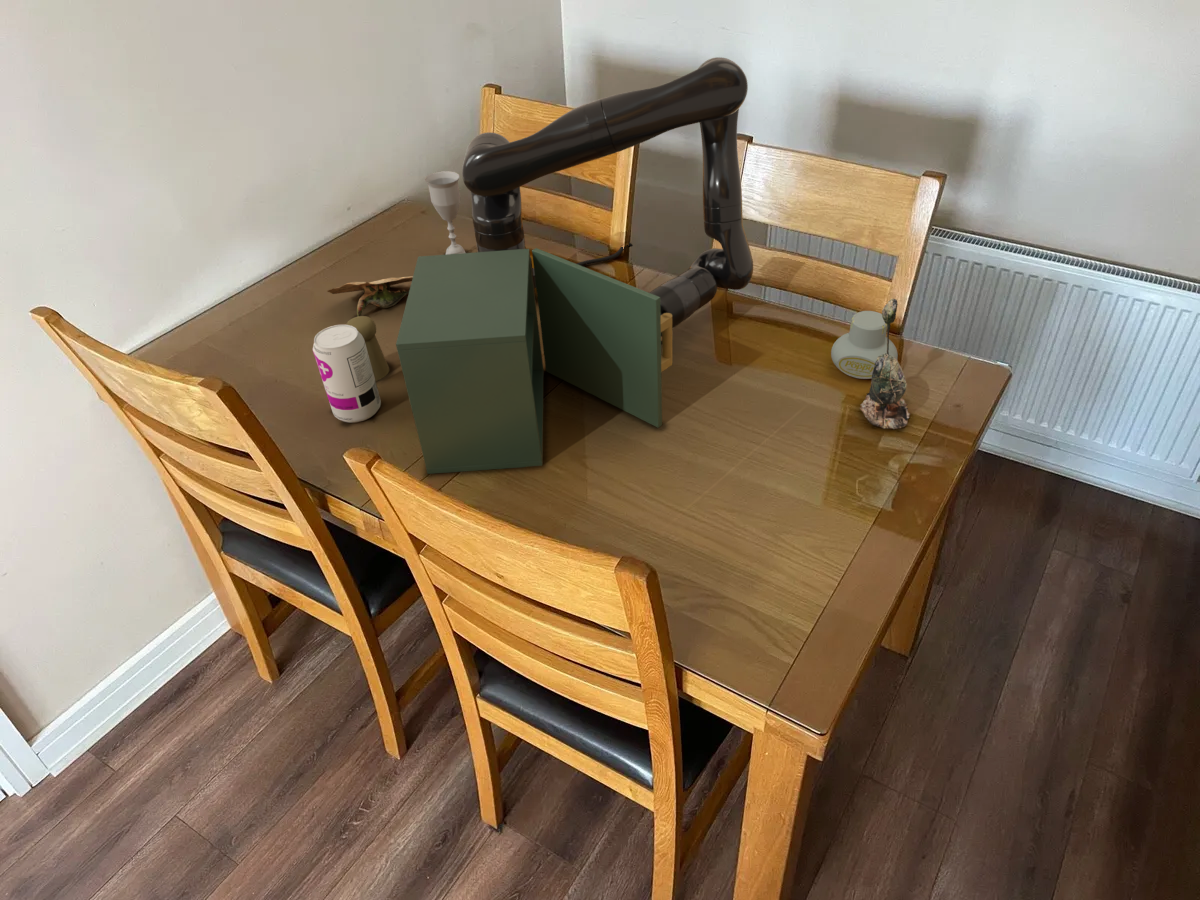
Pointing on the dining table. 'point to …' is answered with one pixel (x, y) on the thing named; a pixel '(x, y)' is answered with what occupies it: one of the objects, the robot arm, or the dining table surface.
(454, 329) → the cupboard
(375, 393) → the supplement can
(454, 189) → the chalice
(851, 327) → the air freshener
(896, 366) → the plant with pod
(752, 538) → the dining table surface
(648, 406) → the door
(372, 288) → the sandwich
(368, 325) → the pawn
